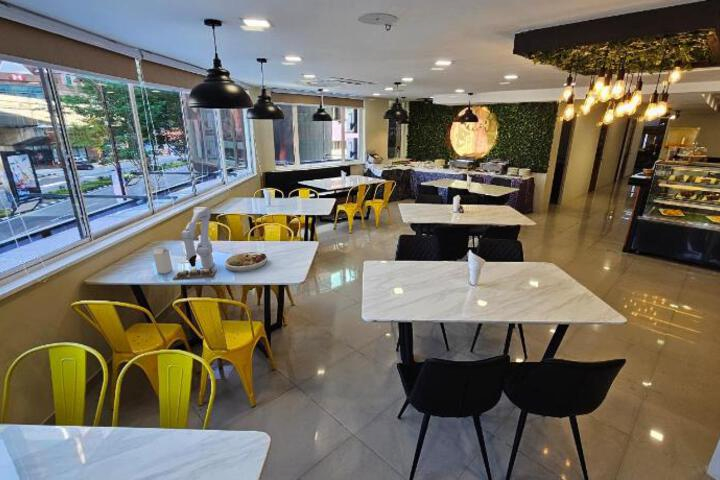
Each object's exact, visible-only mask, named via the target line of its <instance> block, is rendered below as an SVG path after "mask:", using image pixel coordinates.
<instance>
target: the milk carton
mask: <svg viewBox="0 0 720 480" xmlns="http://www.w3.org/2000/svg"><path fill="white" fill-rule="evenodd" d="M152 256H153V259H154V260H153V261H154V264H155V268H156V272H157V274H168V273H170V272H172V271H173V265H172V259H171V255H170V250H168V249H167V248H165V246H155V248H154V250H153V252H152Z"/></svg>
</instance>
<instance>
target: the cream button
mask: <svg viewBox="0 0 720 480" xmlns="http://www.w3.org/2000/svg"><path fill="white" fill-rule="evenodd" d="M197 270H198V268H197V267H191V269H190V271H192V273H196V272H197Z"/></svg>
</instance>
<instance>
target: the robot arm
mask: <svg viewBox="0 0 720 480" xmlns="http://www.w3.org/2000/svg"><path fill="white" fill-rule="evenodd" d="M192 213H193V215H192V218H191V221H189V222H188V223H187V224H186V227H185V228H184V230H183V231H181V232H180V238H181V240H182V242H184V243H183V244H184V250H185V253H184V256H185V261H188V263H189V265H190V266H191V268H196V265H197V263H196V262H197V257H198V256H199V257H200V262H201V266H200V269H212V268H213V266H214V265H215V262H214V257H213V251H214V250H213V244H212V243H210V241H209V234H210V233H209V232H210V230H209V229H210V228H209V226H210V219H211V209H210V207H208V206H194V208H193V210H192ZM199 221H200V242H199V243H197V246H196V248H195V242H194V237H195V231H196V229H197V227H198V226H197V223H198V222H199Z"/></svg>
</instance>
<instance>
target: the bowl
mask: <svg viewBox="0 0 720 480" xmlns="http://www.w3.org/2000/svg"><path fill="white" fill-rule="evenodd" d="M267 260H268V256H267V254H266V253H264V252H258V251H249V252H248V251H246V252H242V253H236V254H234V255H231V256H229V257H227V258H226V259H225V260H224V266H225V268H226V269H228V270H230V271H232V272H239V273H241V272H250V271H253V270H254V271H255V270H258V269H260V268H262V267H263V266H264V265H265V264H266V263H267Z"/></svg>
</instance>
